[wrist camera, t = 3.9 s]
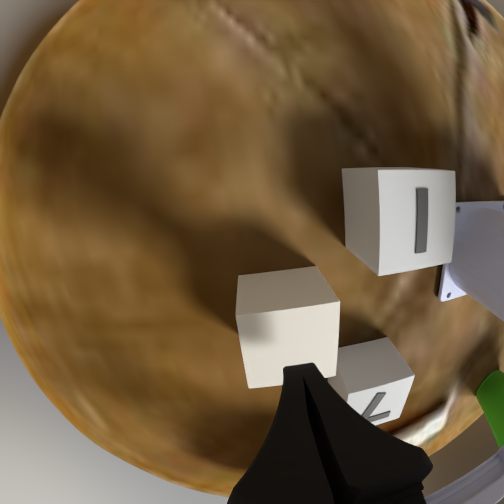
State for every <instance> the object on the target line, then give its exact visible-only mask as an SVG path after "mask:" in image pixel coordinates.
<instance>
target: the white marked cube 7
mask: <svg viewBox="0 0 504 504" xmlns="http://www.w3.org/2000/svg"><path fill="white" fill-rule="evenodd" d="M414 377H415V374H414V373H413V371H412V370H411V368H410V367H409V366H408V364H407V363H406V361H405V360H404V359H403V357H402V356H401V354H400V353H399V352H398V350H397V349H396V347H395V346H394V345H393V343H392V342H391V341H390V339H389V338H388V337H385V338H381V339H377V340H373V341H368V342H364V343H359V344H355V345H350V346H345V347H340V348H338V353H337V366H336V376H333V377H328V383H329V384H330V385H331V386H332V387H333V388H334V390H335V391H336V392H337V393H338V394H339V395H340V396H341V397H342V398H343V399H344V400H345V401H346V402H347V403H348V404H349V405H350V406H351V407H352V408H353V409H354V410H355V411H357V412H358V413H359V414H360V415H362V416H363V417H364V418H365V419H367V420H368V421H370V422H371V423H372V424H374V425H378V424H381V423H384V422H387V421H390V420H393V419H396V418H399V416H400V414H401V411H402V409H403V406H404V404H405V401H406V399H407V396H408V393H409V391H410V388H411V385H412V382H413V380H414Z"/></svg>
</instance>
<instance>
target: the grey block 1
mask: <svg viewBox="0 0 504 504" xmlns="http://www.w3.org/2000/svg"><path fill="white" fill-rule="evenodd" d="M342 181H343V195H344V213H345V245H346V248H347V249H348V250H349V251H350V252H352V253H353V254H354V255H355V256H356V257H357V258H358V259H360V260H361V261H362V262H363V263H364V264H365V265H366V266H368V267H369V268H370V269H371V270H372V271H373V272H374V273H375V274H377V275H378V276H382V275H388V274H394V273H399V272H405V271H410V270H416V269H421V268H426V267H431V266H436V265H441V264H446V263H451V261H452V253H453V243H454V230H455V206H456V184H455V171H450V170H440V169H427V168H413V167H370V168H342Z"/></svg>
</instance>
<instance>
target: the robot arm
mask: <svg viewBox="0 0 504 504" xmlns="http://www.w3.org/2000/svg"><path fill="white" fill-rule="evenodd" d="M456 208H457V211H456ZM447 294H448V295H447ZM466 294H468V295H469V296H471V297H472V298H473V299H475V300H476V301H478V302H479V303H480V304H482V305H483V306H484V307H486V308H487V309H488V310H490V311H491V312H492V313H493V314H495V315H496V316H497V317H499V318H500V319H501V320H502V321H504V201H475V202H456V206H455V230H454V243H453V253H452V261H451V263H446V264H443V268H442V275H441V282H440V288H439V294H438V299H439V300H440V301H442V302H443V301H447V300H450V299H453V298H457V297H460V296H463V295H466ZM432 468H433V465H432V463H431V461H430V459H429V457H428V456H427V454H426V453H425V452H424V450H423V449H422V448H420V447H417V446H414V445H412V444H409V443H407V442H404V441H402V440H400V439H398V438H396V437H394V436H392V435H390V434H389V433H387V432H385V431H383V430H382V429H380V428H378V427H377V426H375V425H374V424H372V423H371V422H370V421H368V420H367V419H365V418H364V417H363V416H362V415H360V414H359V413H358V412H357V411H355V410H354V409H353V408H352V407H351V406H350V405H349V404H348V403H347V402H346V401H345V400H344V399H343V398H342V397H341V396H340V395H339V394H338V393H337V392H336V391H335V390H334V388H333V387H332V386H331V385H330V384H329V383H328V381H327V380H326V379H325V378H324V376H323V375H322V374H321V372H320V371H319V369H318V368H317V366H316V365H315V364H314V363H313V362H312V363H305V364H299V365H292V366H285V367H284V368H283V386H282V392H281V397H280V401H279V405H278V409H277V412H276V415H275V418H274V421H273V424H272V426H271V429H270V431H269V433H268V435H267V438H266V440H265V442H264V444H263V446H262V447H261V449H260V451H259V453H258V455H257V456H256V458H255V459H254V461H253V462H252V464H251V466H250V467H249V469H248V470H247V471H246V473H245V474H244V475H243V477H242V478H241V479H240V480H239V482H238V483H237V484H236V485H235V487H234V488H233V490H232V493H231V495H230V497H229V499H228V502H227V504H496V503H497V502H498V501H500V500H501V499H502V498H503V497H504V445H503V446H502V447H501V448H500V449H499V450H498V452H497V453H496V454H494V455H493V456H492V457H490V458H489V459H488V460H486V461H485V462H484V463H482V464H481V465H480V466H478V467H476V468H475V469H473V470H472V471H470V472H469V473H467V474H466V475H464V476H463V477H461V478H459V479H458V480H456V481H454V482H453V483H451V484H449V485H447V486H446V487H444V488H442V489H440V490H438V491H436V492H435V493H432V494H431V495H428V496H427V497H424V496H423V493H422V491H421V490H423V488H424V487H423V485H422V481H423V479H424V478H425V477H426V476H427V475H428V474H429V473H430V471H431V470H432Z"/></svg>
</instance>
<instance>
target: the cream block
mask: <svg viewBox="0 0 504 504" xmlns="http://www.w3.org/2000/svg"><path fill="white" fill-rule="evenodd" d="M235 316H236V322H237V328H238V333H239V339H240V344H241V350H242V355H243V361H244V366H245V371H246V377H247V382H248V387H249V388H259V387H268V386H277V385H283V368H284V367H285V366H292V365H299V364H305V363H312V362H313V363H314V364H315V365H316V366H317V368H318V369H319V371H320V372H321V374H322V375H323V376H324V378H328V377H333V376H336V366H337V353H338V338H339V318H340V301H339V299H338V298H337V296H336V294H335V293H334V291H333V290H332V288H331V287H330V285H329V284H328V282H327V281H326V279H325V278H324V277H323V275H322V274H321V272H320V271H319V269H318V268H317V266H312V267H304V268H297V269H289V270H281V271H273V272H264V273H256V274H247V275H239V276H238V285H237V299H236V314H235Z"/></svg>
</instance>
